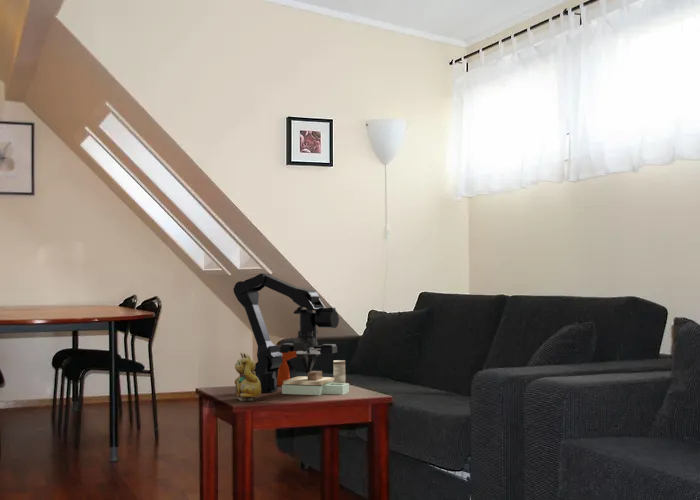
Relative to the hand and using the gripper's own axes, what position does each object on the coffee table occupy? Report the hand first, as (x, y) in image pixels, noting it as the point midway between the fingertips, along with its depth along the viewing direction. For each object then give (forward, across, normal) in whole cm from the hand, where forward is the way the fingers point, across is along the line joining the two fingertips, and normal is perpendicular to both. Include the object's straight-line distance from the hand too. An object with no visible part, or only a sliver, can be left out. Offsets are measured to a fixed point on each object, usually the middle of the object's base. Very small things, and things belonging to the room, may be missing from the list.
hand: (308, 374), depth 284 cm
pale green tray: (+7, +3, 0) cm, 7 cm away
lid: (+3, 0, 0) cm, 3 cm away
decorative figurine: (+7, -15, -16) cm, 23 cm away
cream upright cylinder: (+7, +6, +14) cm, 17 cm away
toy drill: (+7, -13, +23) cm, 27 cm away
